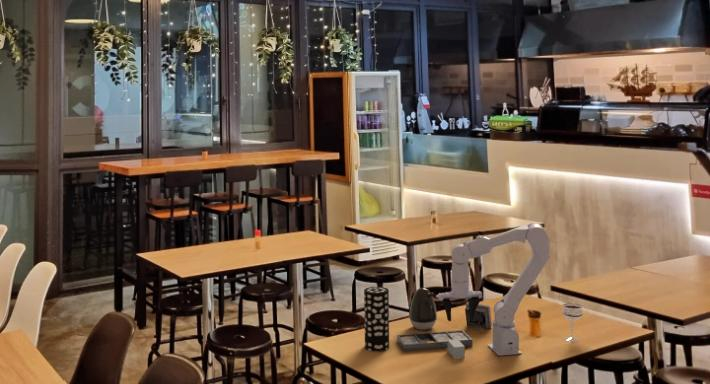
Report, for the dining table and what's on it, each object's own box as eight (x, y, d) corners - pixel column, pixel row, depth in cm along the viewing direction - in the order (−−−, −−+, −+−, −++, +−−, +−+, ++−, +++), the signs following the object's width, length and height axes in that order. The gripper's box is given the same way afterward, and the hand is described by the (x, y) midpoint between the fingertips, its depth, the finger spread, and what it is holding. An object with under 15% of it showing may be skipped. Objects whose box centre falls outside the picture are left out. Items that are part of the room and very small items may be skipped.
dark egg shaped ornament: (423, 334, 223) (423, 293, 221) (403, 327, 231) (403, 287, 229) (443, 328, 229) (443, 288, 228) (422, 321, 237) (422, 282, 236)
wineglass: (572, 334, 220) (573, 302, 219) (586, 341, 214) (587, 307, 212) (557, 337, 217) (558, 304, 216) (570, 343, 211) (571, 309, 210)
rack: (472, 346, 210) (472, 339, 210) (404, 351, 206) (404, 344, 206) (462, 336, 220) (462, 329, 220) (397, 341, 216) (396, 334, 216)
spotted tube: (374, 341, 217) (373, 285, 214) (394, 346, 211) (393, 289, 209) (359, 348, 210) (359, 290, 208) (379, 353, 205) (378, 294, 203)
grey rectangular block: (464, 358, 200) (464, 346, 200) (454, 359, 199) (454, 347, 199) (457, 350, 207) (457, 339, 206) (447, 351, 206) (447, 339, 206)
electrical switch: (492, 327, 229) (491, 303, 228) (487, 332, 225) (486, 308, 223) (468, 323, 235) (467, 300, 233) (463, 328, 230) (462, 305, 229)
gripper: (476, 276, 212) (476, 314, 214) (436, 278, 210) (436, 317, 212) (484, 281, 205) (483, 321, 207) (441, 283, 203) (441, 323, 205)
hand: (460, 319), depth 209 cm, fingers open, 7 cm apart
